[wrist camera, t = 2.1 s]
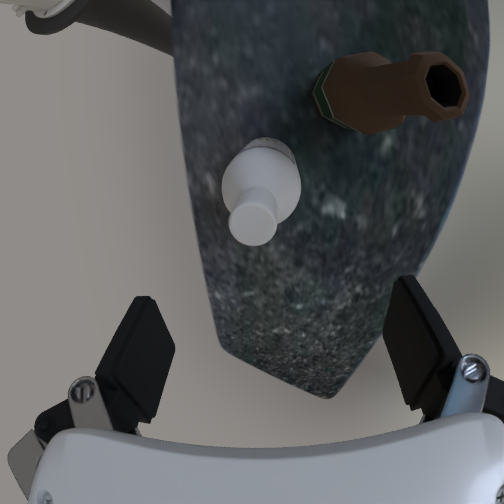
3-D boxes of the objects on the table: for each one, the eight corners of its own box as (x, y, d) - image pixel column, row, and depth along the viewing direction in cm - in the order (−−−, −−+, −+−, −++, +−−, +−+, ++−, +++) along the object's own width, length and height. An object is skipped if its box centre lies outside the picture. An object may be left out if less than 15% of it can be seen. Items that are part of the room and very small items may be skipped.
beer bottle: (339, 57, 26) (436, -11, 5) (379, 103, 28) (516, 118, 7) (295, 93, 29) (330, 57, 8) (337, 138, 31) (434, 198, 10)
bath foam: (233, 143, 33) (179, 186, 15) (287, 129, 31) (297, 155, 14) (248, 192, 36) (216, 281, 18) (299, 181, 34) (319, 263, 17)
